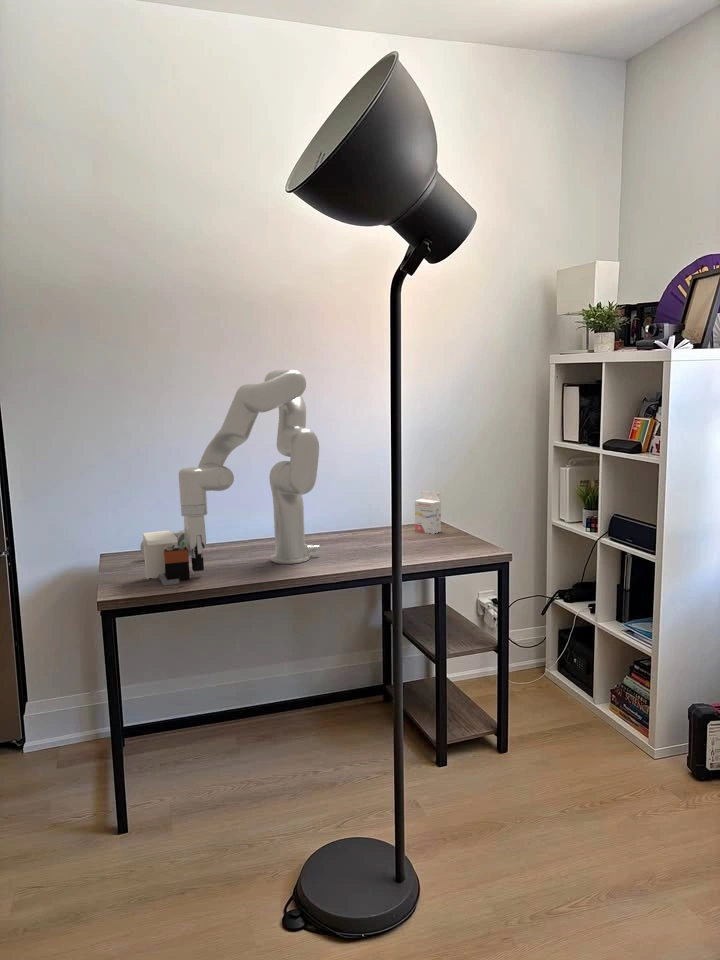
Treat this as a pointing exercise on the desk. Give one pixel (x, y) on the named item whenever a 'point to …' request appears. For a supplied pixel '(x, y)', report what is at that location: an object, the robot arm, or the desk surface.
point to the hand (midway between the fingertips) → (198, 570)
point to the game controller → (174, 545)
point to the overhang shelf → (157, 554)
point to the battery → (177, 563)
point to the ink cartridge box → (428, 513)
